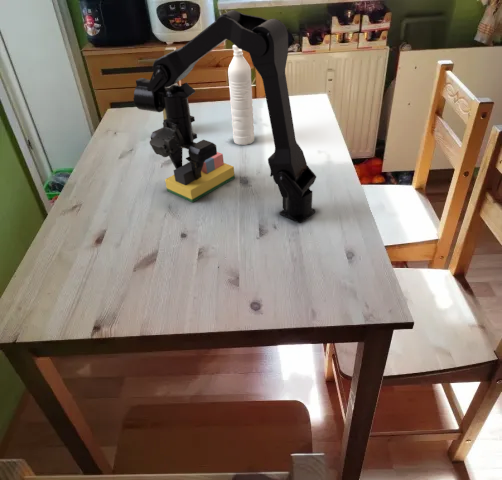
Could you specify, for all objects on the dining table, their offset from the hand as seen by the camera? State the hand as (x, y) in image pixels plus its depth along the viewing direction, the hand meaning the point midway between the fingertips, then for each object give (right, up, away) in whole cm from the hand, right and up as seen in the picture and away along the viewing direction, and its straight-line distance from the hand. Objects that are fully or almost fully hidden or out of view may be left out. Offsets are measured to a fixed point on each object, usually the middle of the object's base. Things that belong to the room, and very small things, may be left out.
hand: (188, 175), depth 121 cm
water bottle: (+14, +19, +24) cm, 34 cm away
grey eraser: (0, -1, +1) cm, 1 cm away
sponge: (+3, -1, +5) cm, 6 cm away
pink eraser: (+5, +4, +4) cm, 8 cm away
